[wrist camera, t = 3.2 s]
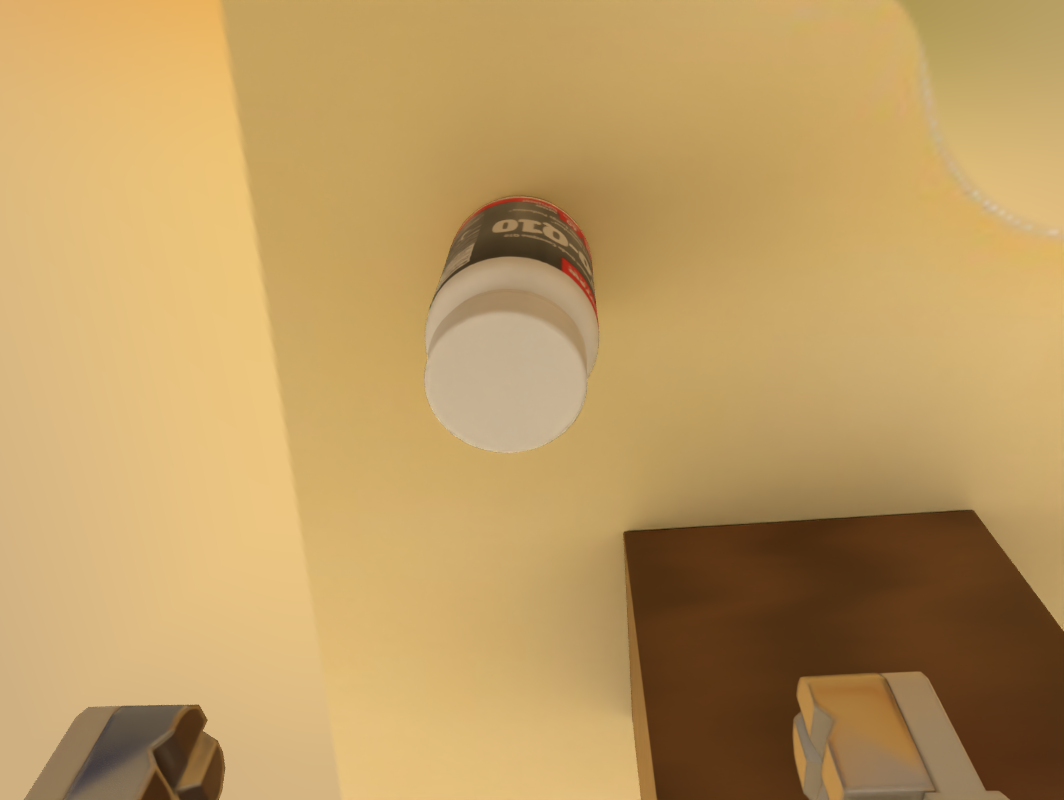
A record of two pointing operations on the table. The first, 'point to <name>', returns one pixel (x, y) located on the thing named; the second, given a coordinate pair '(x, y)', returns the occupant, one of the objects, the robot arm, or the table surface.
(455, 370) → the pill bottle
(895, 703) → the robot arm
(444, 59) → the table surface
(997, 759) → the riser
